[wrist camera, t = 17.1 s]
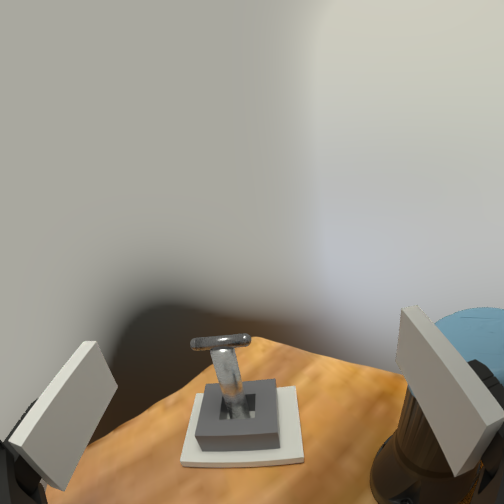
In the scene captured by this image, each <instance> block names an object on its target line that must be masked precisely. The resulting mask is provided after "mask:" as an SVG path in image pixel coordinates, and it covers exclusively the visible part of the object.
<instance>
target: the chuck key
mask: <svg viewBox="0 0 504 504" xmlns="http://www.w3.org/2000/svg"><path fill="white" fill-rule="evenodd" d="M250 343H251V337H250V336H249V335H248V334H235V335H224V336H213V337H201V338H194V339H192V340H191V343H190V346H191V348H192V349H193V350H210V353H211V357H212V360H213V364H214V367H215V371H216V374H217V377H218V381H219V384H220V388H221V391H222V394H223V397H224V401H225V404H226V407H227V410H228V413H229V417H230V419H246V418H251V416H250V412H249V408H248V404H247V400H246V396H245V392H244V388H243V384H242V379H241V375H240V371H239V367H238V362H237V358H236V354H235V349H234V348H236V347H246V346H248V345H250Z"/></svg>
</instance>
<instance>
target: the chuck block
mask: <svg viewBox="0 0 504 504" xmlns="http://www.w3.org/2000/svg"><path fill="white" fill-rule="evenodd" d="M242 384H243V388H244V392H245V396H246V400H247V404H248V408H249V412H250V416H251V418H246V419H230V417H229V413H228V410H227V407H226V404H225V401H224V397H223V394H222V391H221V388H220V384H219V383H215V384H206V386H205V391H204V393H196V397H195V401H194V405H193V409H192V413H191V417H190V421H189V425H188V430H187V434H186V438H185V442H184V446H183V450H182V454H181V458H180V462H181V464H182V465H183V466H186V467H214V468H230V467H259V466H273V465H284V464H294V463H302V462H304V454H303V445H302V437H301V428H300V420H299V411H298V403H297V395H296V387H295V386H289V387H281V388H277V387H276V380H275V379H267V380H257V381H245V382H242Z"/></svg>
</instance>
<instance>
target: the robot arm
mask: <svg viewBox="0 0 504 504" xmlns="http://www.w3.org/2000/svg"><path fill="white" fill-rule="evenodd" d="M396 363H397V365H398V366H399V368H400V370H401V372H402V374H403V375H404V377H405V379H406V381H407V383H408V387H407V391H406V396H405V400H404V404H403V409H402V413H401V417H400V420H399V424H398V428H397V430H396V431H395V432H394V433H393V435H392V436H390V437H389V438H388V439H387V440H386V441H385V442H384V444H383V445H382V446H381V448H380V449H379V451H378V452H377V454H376V456H375V459H374V462H373V465H372V469H371V473H370V486H371V490H372V493H373V495H374V497H375V499H376V501H377V502H378V503H379V504H459V503H460V502H461V501H462V500H463V498H464V497H465V496H466V495H467V494H468V493H469V491H470V490H471V489H472V487H473V486H474V484H475V482H476V480H477V479H478V478H479V479H478V482H477V485H476V488H475V491H474V494H473V497H472V499H471V502H470V504H504V309H499V308H488V307H486V308H485V307H484V308H483V307H482V308H472V309H466V310H462V311H458V312H455V313H454V314H452V315H449V316H446V317H444V318H442V319H440V320H439V321H437V322H436V323H433V322H432V321H431V320H430V319H429V317H428V316H427V315H426V314H425V313H424V312H423V311H422V310H421V309H420V308H419V307H418V305H416V306H411V307H406V308H402V309H401V317H400V328H399V338H398V345H397V353H396ZM117 387H118V386H117V384H116V382H115V380H114V378H113V376H112V374H111V372H110V370H109V368H108V366H107V363H106V361H105V359H104V357H103V355H102V353H101V350H100V348H99V346H98V343H97V341H84V342H83V343H82V344H81V346H80V347H79V348H78V349H77V350H76V352H75V353H74V354H73V355H72V356H71V358H70V359H69V360H68V361H67V363H66V364H65V365H64V366H63V368H62V369H61V370H60V371H59V373H58V374H57V375H56V376H55V378H54V379H53V380H52V382H51V383H50V384H49V386H48V387H47V388H46V389H45V391H44V392H43V393H42V395H41V396H40V397H39V398H38V399H36V400H35V401H34V402H33V403H31V405H30V406H29V407H28V409H27V410H26V413H24V414H23V415H22V417H21V420H19V421H18V422H17V424H16V425H15V426H14V428H13V430H12V431H11V432H10V434H9V435H8V437H7V438H6V439H5V441H4V442H2V441H1V440H0V504H48V503H47V499H46V495H45V491H44V488H43V486H42V484H41V483H40V480H41V478H43V480H44V481H45V482H47V484H49V485H50V486H51V487H53V488H56V489H59V490H61V491H65V489H66V487H67V485H68V483H69V481H70V479H71V477H72V475H73V472H74V470H75V468H76V466H77V464H78V462H79V460H80V458H81V456H82V454H83V452H84V450H85V448H86V446H87V444H88V442H89V440H90V438H91V436H92V434H93V432H94V431H95V429H96V427H97V425H98V423H99V421H100V419H101V417H102V415H103V413H104V411H105V410H106V407H107V406H108V404H109V402H110V400H111V398H112V397H113V394H114V393H115V391H116V389H117ZM481 460H482V462H483V464H484V466H483V467H482V468H481V470H480V465H481ZM479 470H480V471H479Z"/></svg>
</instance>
